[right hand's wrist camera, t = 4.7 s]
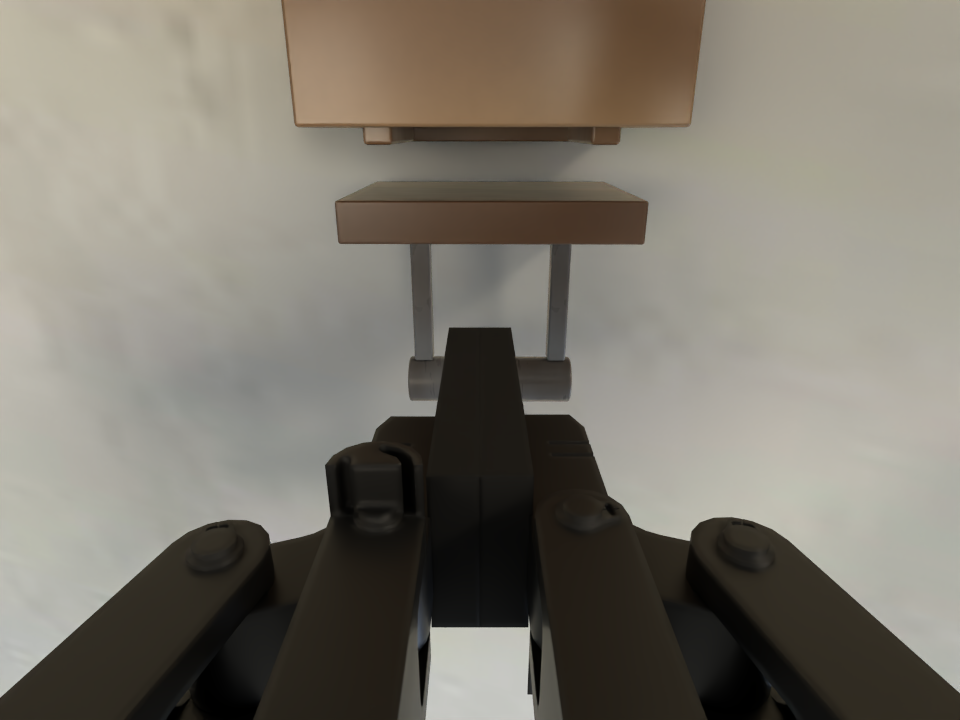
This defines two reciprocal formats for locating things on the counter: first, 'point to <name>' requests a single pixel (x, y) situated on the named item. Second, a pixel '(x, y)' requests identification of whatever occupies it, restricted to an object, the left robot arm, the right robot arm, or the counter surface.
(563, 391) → the drawer
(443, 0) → the cabinet
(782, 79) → the counter surface
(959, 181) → the counter surface
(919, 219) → the counter surface
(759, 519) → the counter surface
